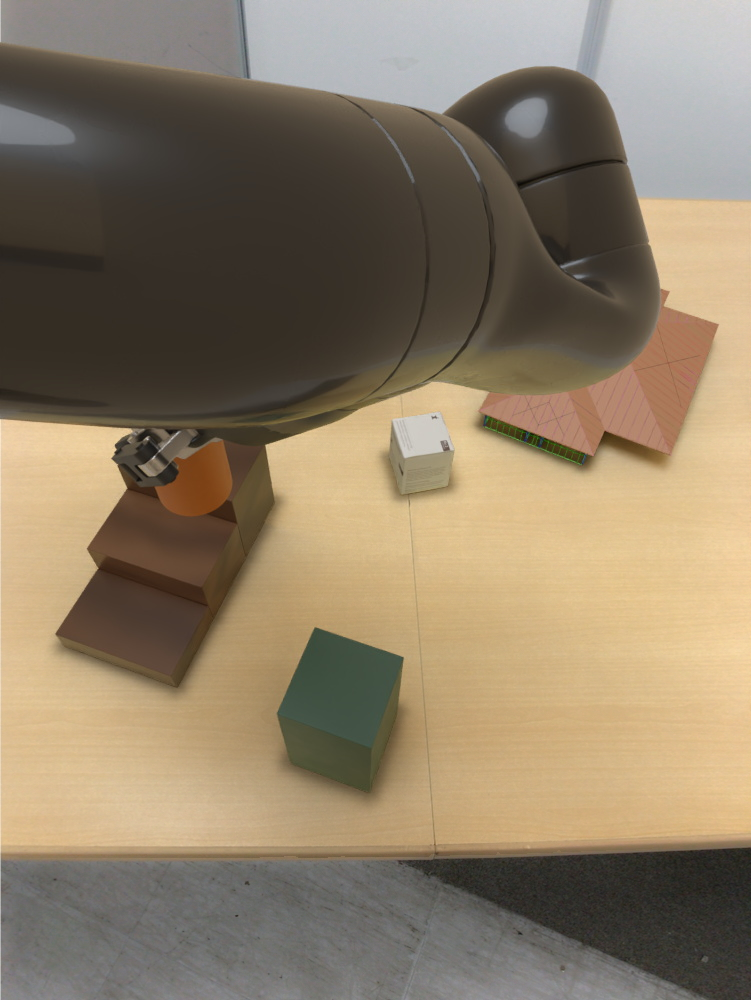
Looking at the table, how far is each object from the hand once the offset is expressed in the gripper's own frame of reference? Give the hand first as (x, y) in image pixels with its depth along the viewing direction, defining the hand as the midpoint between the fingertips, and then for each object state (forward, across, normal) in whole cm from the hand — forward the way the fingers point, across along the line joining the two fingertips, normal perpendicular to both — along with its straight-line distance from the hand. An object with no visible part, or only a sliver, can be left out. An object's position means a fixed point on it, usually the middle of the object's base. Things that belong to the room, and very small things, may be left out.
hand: (158, 423), depth 52 cm
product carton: (+17, -28, +29) cm, 44 cm away
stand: (+11, +4, +35) cm, 37 cm away
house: (+8, -55, +38) cm, 67 cm away
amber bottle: (+3, 0, +6) cm, 7 cm away
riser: (+29, -2, +17) cm, 33 cm away
